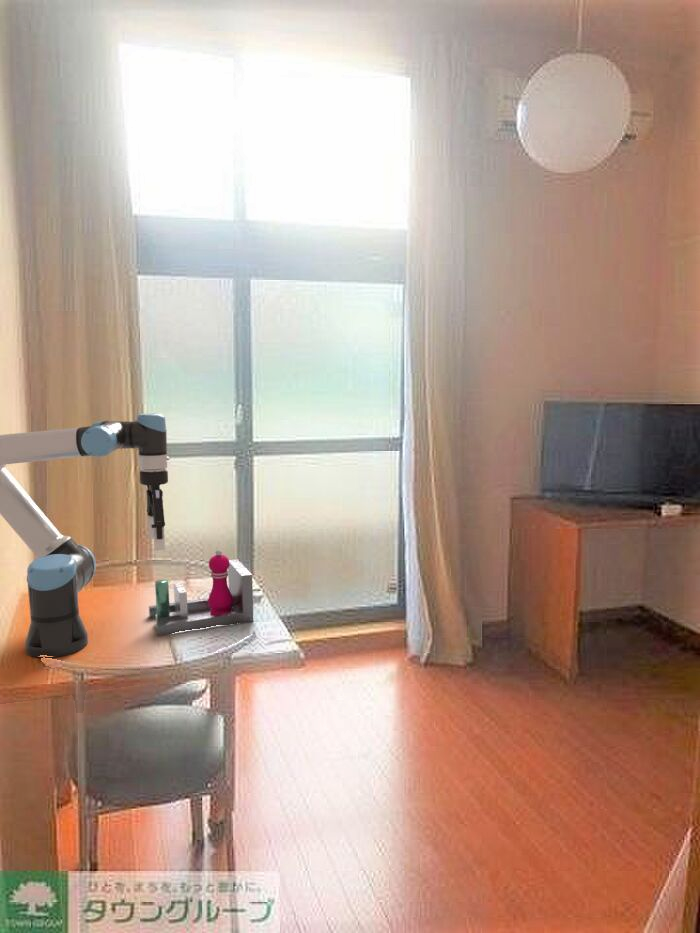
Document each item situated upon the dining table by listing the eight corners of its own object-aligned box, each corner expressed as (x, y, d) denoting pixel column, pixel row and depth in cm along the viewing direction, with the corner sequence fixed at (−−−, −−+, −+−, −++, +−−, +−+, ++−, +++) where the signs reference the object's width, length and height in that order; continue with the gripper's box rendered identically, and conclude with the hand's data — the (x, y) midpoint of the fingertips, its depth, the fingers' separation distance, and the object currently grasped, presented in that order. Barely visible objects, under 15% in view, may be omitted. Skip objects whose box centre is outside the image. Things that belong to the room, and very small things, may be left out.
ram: (159, 630, 187) (156, 587, 186) (154, 618, 196) (152, 577, 195) (188, 626, 190) (186, 583, 189) (182, 614, 200) (180, 573, 198)
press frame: (157, 636, 184) (154, 587, 182) (149, 616, 199) (146, 570, 197) (253, 621, 194) (252, 574, 192) (238, 602, 210) (237, 559, 208)
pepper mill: (236, 611, 202) (234, 546, 199) (229, 620, 195) (227, 553, 192) (212, 610, 203) (210, 546, 200) (205, 619, 196) (202, 553, 193)
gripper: (174, 475, 177) (176, 554, 180) (161, 463, 200) (164, 532, 203) (144, 477, 174) (147, 556, 177) (135, 464, 197) (138, 535, 200)
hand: (156, 544), depth 190 cm, fingers open, 13 cm apart
